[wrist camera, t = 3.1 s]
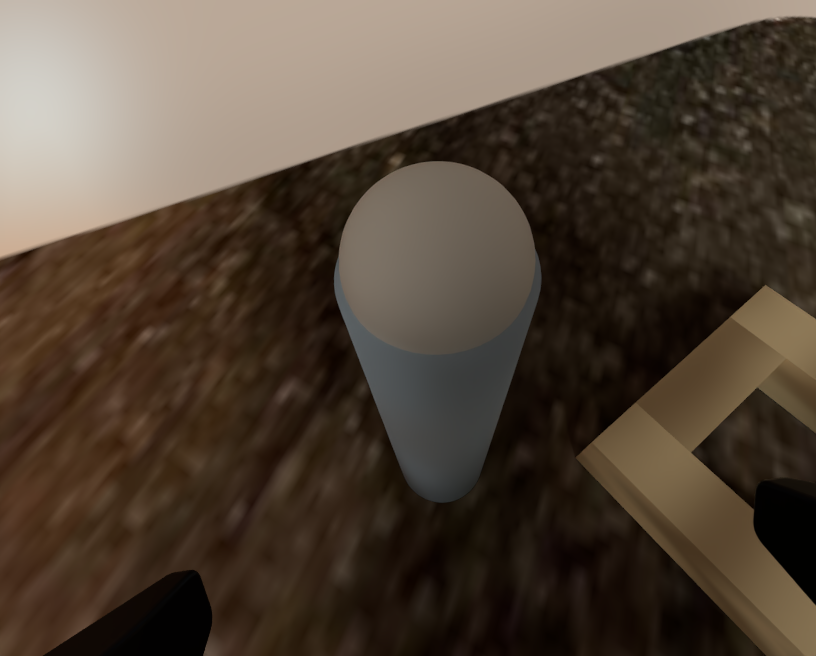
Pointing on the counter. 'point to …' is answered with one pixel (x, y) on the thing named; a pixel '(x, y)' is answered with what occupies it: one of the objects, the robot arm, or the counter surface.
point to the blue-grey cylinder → (438, 313)
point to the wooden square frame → (698, 486)
